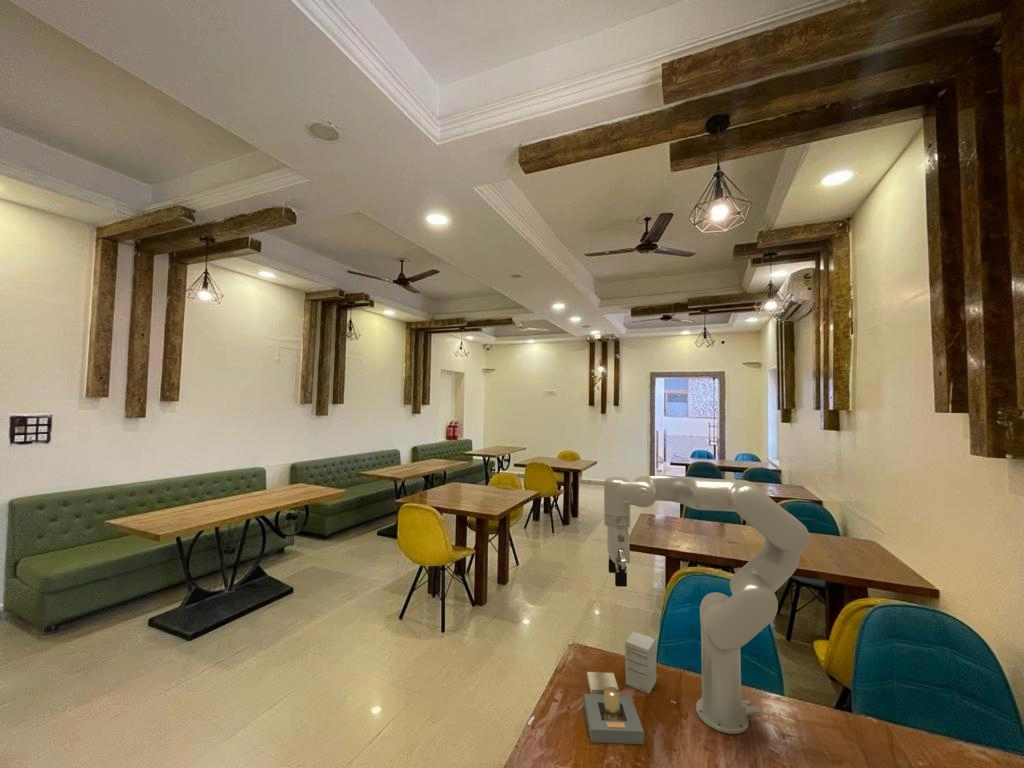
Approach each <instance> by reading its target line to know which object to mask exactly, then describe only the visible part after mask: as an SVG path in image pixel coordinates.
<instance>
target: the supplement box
mask: <svg viewBox="0 0 1024 768" xmlns="http://www.w3.org/2000/svg"><path fill="white" fill-rule="evenodd" d="M624 645H625V646H624V647H625V651H624V652H625V653H624V654H625V655H624V656H625V661H624V662H625V664H624V666H625V667H624V668H625V671H624V672H625V685H626V686H629V687H631V688H634V689H635V690H638V691H641V692H644V693H646V694H650V693H651V692H652V690H653V688H654V687H655V685H656V682H657V639H656V638H654V637H651V636H649V635H647V634H646V635H645V634H642V633H639V632H636V631H632V632H631V634H630V635H629V636H628V638H627V639H626V640H625V642H624Z"/></svg>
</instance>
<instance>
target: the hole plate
mask: <svg viewBox="0 0 1024 768" xmlns="http://www.w3.org/2000/svg"><path fill="white" fill-rule="evenodd" d="M583 708H584V713H585V718H586V723H587V729H588V735H589V740H590V742H591V743H603V744H607V743H608V744H627V745H645V730H644V728H643V725H642V722H641V720H640V717H639V714H638V712H637V709H636V706H635V703H634V700H633V698H632V695H626V694H624V695H623V694H620V716H621V717H622V720H620V721H608V720H604V719H603V720H602V715H604V695H601V694H590V693H583Z"/></svg>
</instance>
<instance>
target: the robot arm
mask: <svg viewBox="0 0 1024 768" xmlns="http://www.w3.org/2000/svg"><path fill="white" fill-rule="evenodd" d="M603 490H604V493H603V495H604V497H603V505H604V506H603V507H604V509H603V511H604V512H603V516H604V517H603V518H604V519H603V523H604V524H603V525H604V526H605V527H607V531H606V532H607V535H606V536H607V538H606V539H607V541H606V544H607V553H608V573H610V574H614V576H615V577H614V585H615V587H622V588H623V587H626V588H627V586H628V569H627V564H630V563H631V551H630V549H631V547H630V536H629V535H630V534H629V533H630V532H629V528H631V506H635V507H640V508H648V507H651V506H654V504H656V502H657V501H658V502H659V501H661V502H673V503H677V504H678V503H679V504H681V505H683V506H685V507H688V508H691V509H694V510H698V511H699V510H700V511H715V512H716V511H719V512H734V513H735V512H736V514H737V515H739V516H740V518H742V519H743V520H744V521H745V522H746V523H747V524H748V525H749V526H751V527H752V528H753V530H756V531H757V532H758V533H759V534H760V535H761V536H762V537H764V542H763V545H762V547H761V548H760V549H759V550H758V552H757V553H756V554H755V555H754V556H753V557H752V558H751V559H750V560H749V561H748V562H746V564H745V565H743V566H742V567H741V568H740V569H739V570H737V572H735V573H734V574H733V575H732V577H731V579H730V580H729V589H730V592H731V594H732V595H730V596H728V595H726V594H724V593H721V592H718V591H717V592H714V591H713V592H710V593H707V594H706V595H704V596H703V598H702V600H701V602H700V605H699V619H700V622H699V623H700V637H701V638H700V639H701V643H700V644H701V646H700V649H701V655H700V656H701V698H699V699H698V700H697V701H696V704H695V711H696V714H697V716H698V717H699V719H701V721H702V722H703V723H705V724H706V725H707V726H708V727H710V728H712V729H713V730H716V731H718V732H720V733H725V734H729V735H737V734H742V733H744V732H745V731H747V730H748V728H749V718H748V717H749V716H750V715H758V716H759V715H760V716H761V715H762V710H761V708H760V706H759V705H751V700H746V699H743V700H742V675H741V674H742V671H741V665H742V663H741V660H742V659H741V657H742V656H741V648H742V647H744V646H745V645H747V644H748V643H749V642H750V641H751V640H753V639H754V638H755V637H756V636H757V635H758V634H759V633H760V632H762V631H763V630H764V629H765V628H766V627H767V626H769V625H770V623H772V621H773V620H774V619H775V618H776V616H777V613H778V611H779V608H778V607H779V600H778V598H777V595H776V592H777V591H778V590H779V589H780V588H781V587H782V586H783V585H784V583H786V582H787V581H788V580H789V579H790V578H791V576H793V574H794V573H795V572H796V571H797V568H798V566H799V563H800V561H801V555H802V552H803V551H804V550H806V549H807V548H808V547H809V544H810V537H811V536H810V533H809V530H808V528H807V527H806V526H805V525H804V523H802V522H801V521H800V520H798V518H796V517H795V516H794V515H793V514H791V513H790V512H789V511H787V510H786V509H785V508H783V507H782V506H781V505H780V504H778V503H777V502H776V501H775V500H774V499H772V498H771V497H770V496H769V495H768V494H767V493H766V492H765V491H763V490H762V489H761V488H760V487H758V485H756V484H755V483H753V482H752V481H749V480H745V479H723V478H722V479H719V478H718V479H717V478H716V479H715V478H695V477H692V478H691V477H677V476H665V475H663V476H662V475H660V476H659V475H641V476H638V477H636V478H635V479H634V481H631V480H628V479H627V478H625V477H617V476H615V477H614V476H613V477H608V478H607V477H606V479H604V482H603Z"/></svg>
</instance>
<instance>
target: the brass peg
mask: <svg viewBox="0 0 1024 768" xmlns="http://www.w3.org/2000/svg"><path fill="white" fill-rule="evenodd" d="M620 692H621V691H620V689H619V690H618V689H617V688H615V687H606V688H605V689H604V714H603V720H608V721H621V719H620V718H621V715H620V695H621V693H620Z"/></svg>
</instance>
